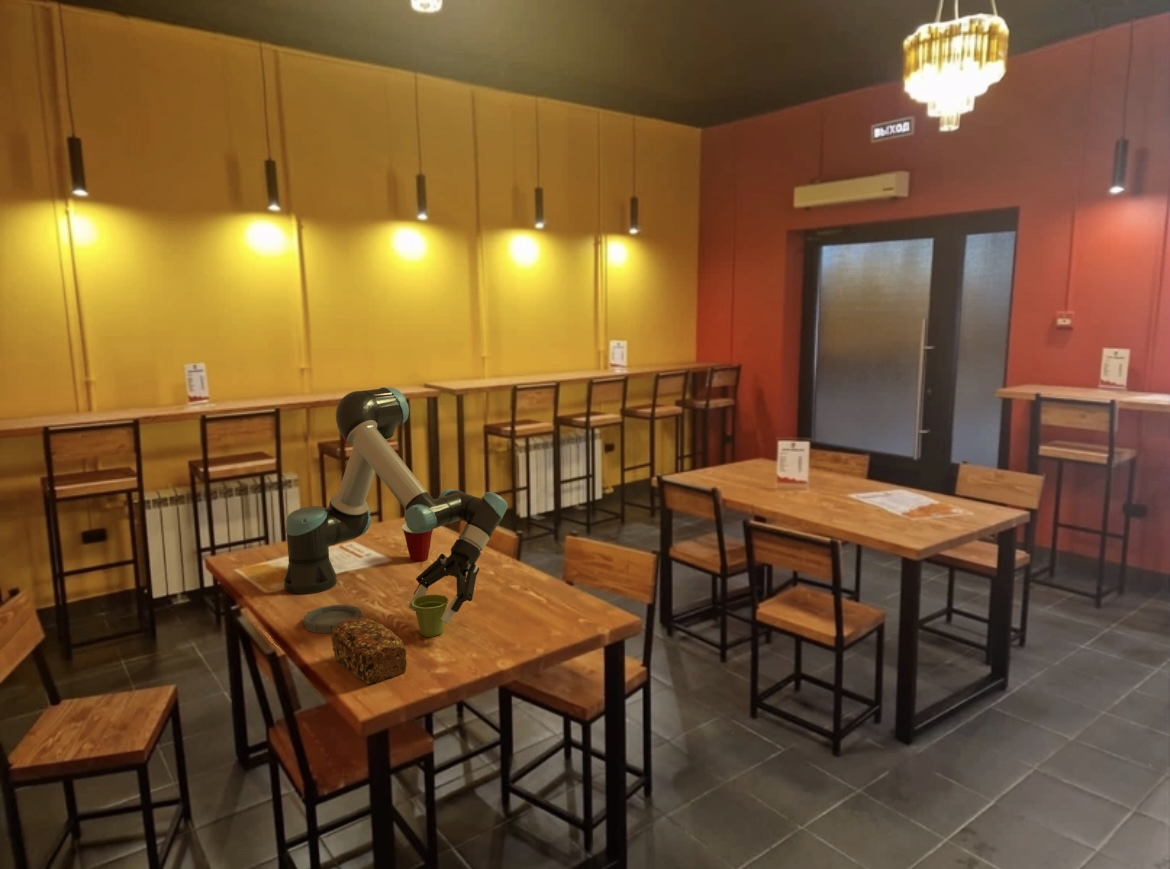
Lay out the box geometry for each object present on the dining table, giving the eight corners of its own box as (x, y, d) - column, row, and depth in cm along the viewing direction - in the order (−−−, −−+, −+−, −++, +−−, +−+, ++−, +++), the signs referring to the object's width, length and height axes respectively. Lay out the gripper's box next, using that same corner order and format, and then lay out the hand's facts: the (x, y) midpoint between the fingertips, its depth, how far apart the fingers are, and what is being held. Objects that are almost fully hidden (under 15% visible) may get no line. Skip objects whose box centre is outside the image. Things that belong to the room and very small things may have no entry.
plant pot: (409, 640, 200) (408, 608, 198) (417, 625, 209) (415, 594, 207) (446, 640, 200) (445, 607, 198) (452, 625, 209) (451, 594, 208)
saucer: (296, 633, 204) (296, 625, 204) (315, 611, 219) (315, 604, 218) (351, 632, 204) (351, 625, 204) (367, 611, 218) (366, 604, 218)
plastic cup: (408, 567, 255) (407, 531, 253) (398, 558, 265) (397, 523, 263) (440, 561, 261) (439, 526, 259) (429, 552, 270) (428, 519, 268)
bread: (331, 660, 189) (329, 621, 187) (373, 647, 196) (371, 609, 194) (366, 688, 175) (364, 646, 173) (409, 673, 182) (407, 633, 180)
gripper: (509, 561, 205) (467, 634, 197) (447, 543, 221) (406, 610, 213) (494, 547, 201) (450, 620, 192) (431, 529, 217) (389, 596, 208)
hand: (427, 615), depth 202 cm, fingers open, 13 cm apart
